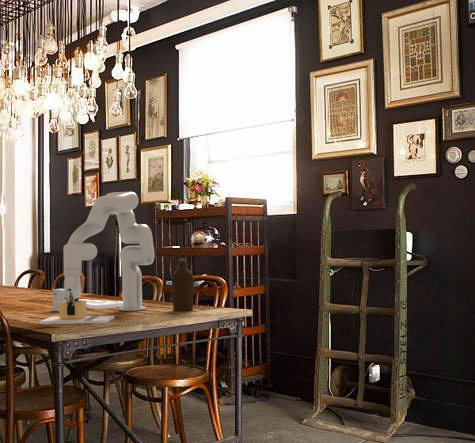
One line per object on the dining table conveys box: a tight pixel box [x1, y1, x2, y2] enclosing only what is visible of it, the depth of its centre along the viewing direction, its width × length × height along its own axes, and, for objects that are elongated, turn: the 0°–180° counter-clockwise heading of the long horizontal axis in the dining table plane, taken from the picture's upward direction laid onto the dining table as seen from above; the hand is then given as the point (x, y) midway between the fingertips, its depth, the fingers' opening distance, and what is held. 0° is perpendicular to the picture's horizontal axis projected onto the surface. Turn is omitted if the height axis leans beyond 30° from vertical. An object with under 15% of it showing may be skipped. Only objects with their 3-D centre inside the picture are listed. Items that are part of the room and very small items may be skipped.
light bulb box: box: [52, 288, 75, 312], centre depth 320 cm, size 11×7×11 cm, turn 65°
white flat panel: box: [39, 315, 115, 325], centre depth 277 cm, size 16×28×1 cm, turn 88°
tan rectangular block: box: [58, 301, 88, 319], centre depth 277 cm, size 6×10×7 cm, turn 87°
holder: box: [79, 298, 123, 311], centre depth 345 cm, size 45×18×3 cm, turn 40°
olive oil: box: [171, 258, 195, 312], centre depth 312 cm, size 11×11×25 cm
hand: (73, 313), depth 277 cm, fingers closed on tan rectangular block, 6 cm apart
